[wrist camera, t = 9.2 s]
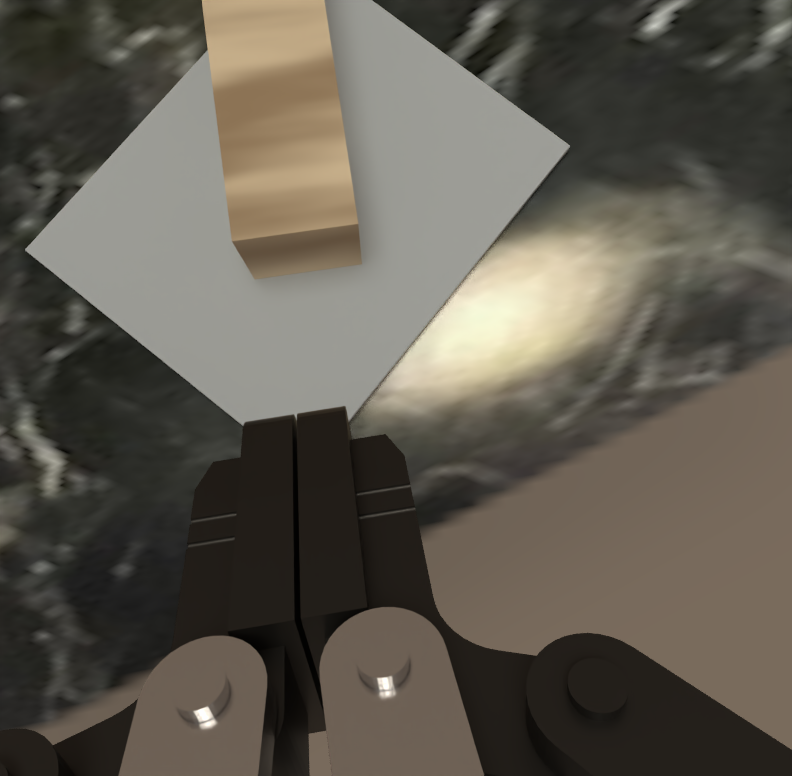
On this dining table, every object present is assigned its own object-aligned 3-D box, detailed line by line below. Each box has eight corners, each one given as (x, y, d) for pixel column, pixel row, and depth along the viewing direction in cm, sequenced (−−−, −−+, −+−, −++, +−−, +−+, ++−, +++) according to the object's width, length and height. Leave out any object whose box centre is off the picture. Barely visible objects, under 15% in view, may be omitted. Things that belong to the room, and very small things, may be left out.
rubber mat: (306, 475, 29) (304, 475, 28) (30, 253, 30) (24, 249, 29) (567, 151, 31) (570, 145, 30) (302, -44, 32) (300, -52, 32)
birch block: (358, 223, 25) (305, -122, 27) (231, 241, 25) (188, -109, 27) (362, 264, 29) (316, -36, 31) (254, 279, 29) (216, -23, 31)
